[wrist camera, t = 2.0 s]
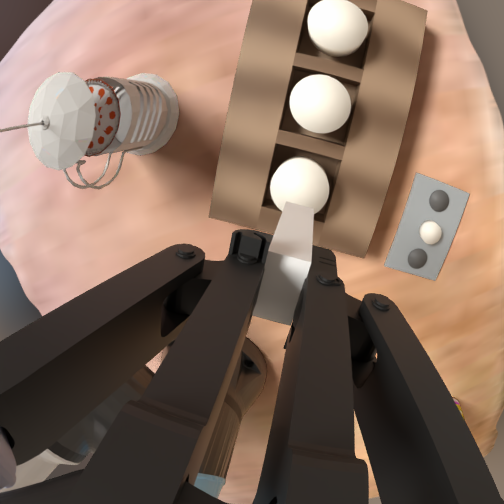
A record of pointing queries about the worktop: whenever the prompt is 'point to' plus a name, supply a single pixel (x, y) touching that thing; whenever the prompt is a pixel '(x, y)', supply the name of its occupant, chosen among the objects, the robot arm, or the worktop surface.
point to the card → (426, 227)
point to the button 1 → (300, 183)
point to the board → (310, 143)
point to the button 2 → (320, 103)
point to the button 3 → (337, 27)
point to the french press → (99, 119)
